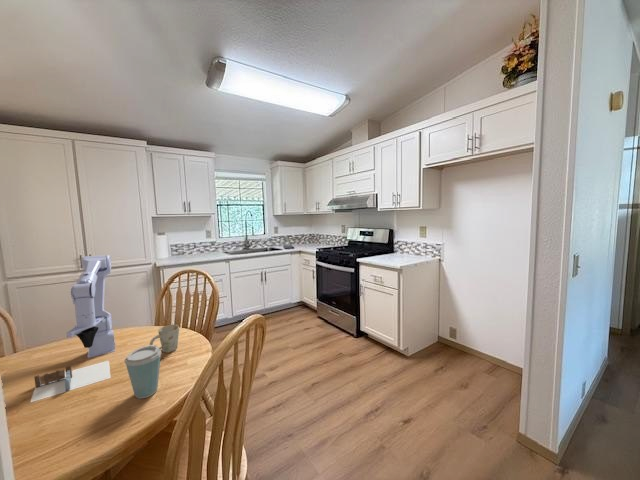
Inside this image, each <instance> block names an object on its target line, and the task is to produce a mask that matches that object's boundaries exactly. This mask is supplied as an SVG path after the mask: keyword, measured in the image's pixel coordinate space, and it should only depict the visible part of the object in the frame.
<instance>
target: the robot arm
mask: <svg viewBox="0 0 640 480" xmlns="http://www.w3.org/2000/svg"><path fill="white" fill-rule="evenodd" d="M81 267H82V269H83V271H84V272H82V273H81V274H80V275H79V278H78V279H77V282H76V284H74V285H71V288H70V296H71V299H72V304H73V305H74V310H75V311H74V312H75V323H76V324H75V325H74V327H73V328H72V329H70V330H68V331H67V332H66V338H74V337H75V336H77V337H78V338H79V340H80V341H81V343H82V345H83V346H84V347H83V348H85V349H88V351H87V359H91V358H95V357H98V356H102V355H106V354H109V353H114V352H116V341H115V333H114V329H112V326H113V321H112V320H113V319H112V314H111V313H110V312H109V311H106V310H105V295H106V294H105V293H106V292H105V291H106V278H107V276H108V275H109V274H111V271H112V257H111V255H110V254H103V255H85V256H83V257H82V258H81Z"/></svg>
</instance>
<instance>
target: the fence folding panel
mask: <svg viewBox="0 0 640 480" xmlns="http://www.w3.org/2000/svg"><path fill="white" fill-rule="evenodd" d="M65 372H66V371H65ZM70 381H71V377H70V370H67V372H66V380H65V389H66V390H69V389H70Z"/></svg>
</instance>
